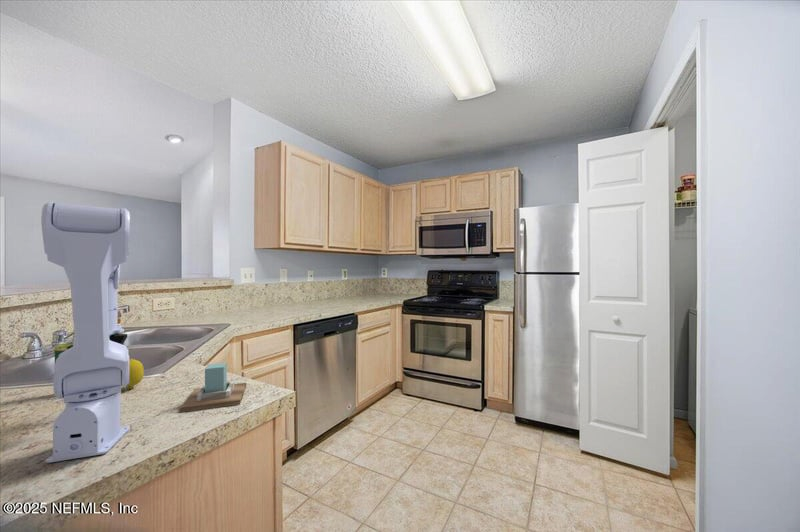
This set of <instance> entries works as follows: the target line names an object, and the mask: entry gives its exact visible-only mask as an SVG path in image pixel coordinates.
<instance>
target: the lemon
mask: <svg viewBox="0 0 800 532" xmlns="http://www.w3.org/2000/svg"><path fill="white" fill-rule="evenodd" d="M144 375H145V369H144V365H143V364H142V362H140V361H139V360H138V359H133V358H129V383H128V384H127V385H126V387H125V388H127V389H128V390H129V389H133V388H134V387H135V386H136V385H138V384H139V383H140V382H141V381H142V380H143V378H144ZM121 387H122V376H121Z"/></svg>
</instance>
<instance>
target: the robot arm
mask: <svg viewBox="0 0 800 532" xmlns="http://www.w3.org/2000/svg"><path fill="white" fill-rule="evenodd" d="M40 217H41V219H40V220H41V233H42V240H43V242H42V243H43V249H44V254H46V257H47V262H50V263H53V264H55V265H57V266H60V267H62V268H63V270H64V271H65V274H66V277H67V280H68V282H69V285H70V287H69V288H70V294H71V295H70V297H71V307H72V308H71V311H72V321H73V331H74V337H72V342H73V345H71V346H69V347H67V350H66V351H64V352H62V353H61V354H59V356H58V358H57V359H56V362H55V361H54V367H53V382H52V383H53V387H52V388H53V395H54V397H56V398H58V400H62V399H63V403H64V404H65V407H64V409H63V411H61V413H59V415H58V416H57V417H56V418H55V419H54V422H53V426H52V432H53V433H52V455H51V456H49V457H48V458H47V459H45V464H49V463H54V462H55V463H56V462H63V461H67V460H74V459H80V458H86V457H92V456H99V455H103V454H106V453H108V452H109V450H110V449H111V448H113V447H114V445H115V444H117V443H118V442H119V440H121V439H122V437H123V436H124V435H126V433H127V432H128V431H129V430H130V429H131V426H130V425H126V426H121V424H122V423H121V421H122V419H121V414H122V412H121V408H122V407H121V404H122V400H121V396H122V395H121V394H122V388H127V387H126V385H127V384H128V383H129V359H130V355H129V348H127V347H128V346H127V345H125V344H124V343H125V341H126V340H127V338H128V333H124V332H125V329H124V328H123V324H118V322H119V321H118V314H119V313H118V312H119V311H118V309H119V307H118V306H119V305H118V303H119V301H118V300H119V299H118V293H119V291H118V289H119V284H120V283H119V282H120V278H121V264H124V263H125V262H127V260H128V259H127V258H128V256H129V254H130V253H129V252H130V251H129V250H130V248H129V247H130V246H129V245H130V243H131V239H130V237H131V224H130V223H131V212H130V211H129V210H128V209H127V208H126V207H122V208H116V207H115V208H114V207H103V206H93V205H84V204H69V203H60V202H59V203H58V202H55V201H47V202H46V203H45V204H44V205H43V206H42V209H41V215H40ZM121 376H122V386H121Z"/></svg>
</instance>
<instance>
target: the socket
mask: <svg viewBox="0 0 800 532" xmlns="http://www.w3.org/2000/svg"><path fill="white" fill-rule="evenodd" d="M246 388H247V382H241V383H235V381H228V382H227V390H225V391H217V392H208V393H205V384H203V385H202V387H198V388H197V387H196V388H194V389H193V391H192V392H191V393H190V395H188V397H187V398H186V400H185V401H184V403H182V405H181V406H180V407H179V410H180V413H185V412H192V411H199V410H208V409H214V408H222V407H230V406H236V405H241V402H242V400H243V398H244V395H245V392H246Z"/></svg>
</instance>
